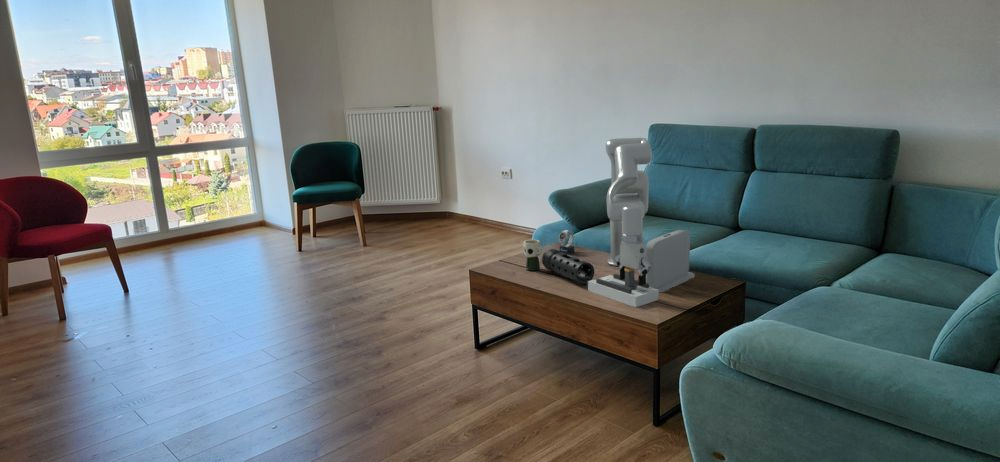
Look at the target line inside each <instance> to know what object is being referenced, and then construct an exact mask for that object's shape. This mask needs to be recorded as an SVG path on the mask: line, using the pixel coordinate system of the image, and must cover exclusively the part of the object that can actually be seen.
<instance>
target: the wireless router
mask: <svg viewBox="0 0 1000 462" xmlns="http://www.w3.org/2000/svg"><path fill="white" fill-rule="evenodd" d="M645 248H646V258H647V262H648V263H649V264H650V265H651V267H650V269H649V272H648V273H647V274H646V283H648V284H649V287H651V288H654V289H658V294H660V293H665V292H666V291H669V290H671V289H673V288H675V287H676V286H679V285H681V284H683V283H685V282H687V281H689V279H690V280H691V278H692V279H693V278H695V275H696V274H695V273H693V272H690V271H689V270H690V254H691V253H690V252H691V251H690V250H691V233H690V231H689V230H686V229H676V230H675V231H672V232H668V233H665V234H662V235H661V236H658V237H655V238H653V239H650V240H649V241H648V242H647V244H645ZM672 287H673V288H672ZM670 288H671V289H670Z"/></svg>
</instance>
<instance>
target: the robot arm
mask: <svg viewBox="0 0 1000 462" xmlns="http://www.w3.org/2000/svg"><path fill="white" fill-rule="evenodd" d="M605 150H606V151H605V152H606V154H607V156H608V158H609V161H610V165H611V166H610V167H611V168H610V169H611V173H610V176H611V179H610V182H611V185H610V186H609V188H608V190H607V193H606V213H607V217H608V219H609V225H610V226H609V227H610V229H609V233H610V238H609V239H610V258H608V259H606V260H607V262H606V263H607V264H608V265H610V266H613V267H618V270H619V275H620V280H623V279H625V271H624V268H627V267H628V268H632V269H635V270H636V271H637V272H638V274H639V275H638V281H639V286H641V285H645V284H646V283H647V277H646V274H647V273H648V272H649V269H650V267H651V265H650V264H649V263H648V262H647V258H646V244H645V242H644V240H645V239H644V236H643V230H644V229H643V226H644V225H643V224H644V223H643V220H644V219H643V218H644V217H645V216H646V214H647V212H648V209H649V191H650V190H649V189H650V187H649V185H650V182H649V176H648V173H647V172H646V171H645V170H642V169H641V170H638V165H649V164H650V163H651V162H652V158H653V150H652V148H651V145H650V143H649V140H648V139H647V138H646V137H630V138H629V137H625V138H622V137H621V138H611V139H609V140H607V141H606V142H605Z"/></svg>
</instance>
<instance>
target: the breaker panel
mask: <svg viewBox="0 0 1000 462" xmlns="http://www.w3.org/2000/svg"><path fill="white" fill-rule="evenodd" d="M596 279H602V280H605V281H608V282H611V283H614V284H617V285H620V286H622V285H625V282H624V281H621V280H618V279H615V278H613V275H611V274H609V275H605V276H602V277H597V278H595V279H592V280H591V281H588V283H587V290H588V292H591V293H593V294H596V295H599V296H602V297H605V298H608V299H611V300H613V301H617V302H619V303H622V304H625V305H628V306H631V307H633V308H638V307H641V306H644V305H647V304H650V303H654V302H655V301H659V293H658V289H654V288H651V287H649V288H644V287H640V286H637V287H636V288H633V289H632V293H631V294H628V293H625V292H622V291H619V290H616V289H613V288H610V287H607V286H604V285H601V284H598V283H596Z"/></svg>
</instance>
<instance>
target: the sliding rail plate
mask: <svg viewBox="0 0 1000 462" xmlns="http://www.w3.org/2000/svg"><path fill="white" fill-rule="evenodd" d="M612 276H613V278H615V279H618V280H620V274H619V273H618V274H617V273H613V275H612ZM595 279H596V283H598V284H601V285H604V286H607V287H610V288H613V289H616V290H619V291H622V292H625V293H628V294H631V293H632V289H630V288H627V287H623V286H620V285H617V284H614V283H611V282H608V281H605V280H602V279H598V278H595ZM621 281H624V282H625V279H623V280H621ZM634 285H637V286H639V279H638V280H637V279H635V278H634ZM640 287H644V288H649V284H648V283H647V282H646V284H645V285H641V286H640Z"/></svg>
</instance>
